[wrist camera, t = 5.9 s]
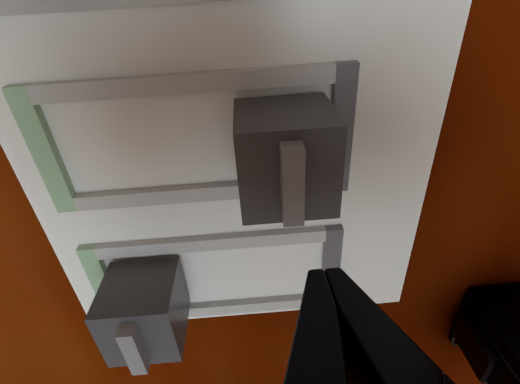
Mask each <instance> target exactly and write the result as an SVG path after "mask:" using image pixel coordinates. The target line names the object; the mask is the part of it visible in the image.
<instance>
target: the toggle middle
mask: <svg viewBox="0 0 520 384" xmlns="http://www.w3.org/2000/svg"><path fill="white" fill-rule="evenodd" d="M347 132H348V125H347V124H346V122H345V121H344V120H343V118H342V117H341V115H340V114H339V113H338V111H337V110H336V108H335V107H334V106H333V104H332V103H331V101H330V100H329V99H328V97H327V96H326V94H325V93H324V92H317V93H303V94H289V95H275V96H262V97H248V98H234V109H233V142H234V151H235V160H236V170H237V179H238V189H239V198H240V208H241V217H242V226H246V225H259V224H272V223H283V227H293V226H304V221H310V220H323V219H336V218H340V213H341V201H342V190H343V178H344V167H345V155H346V144H347Z"/></svg>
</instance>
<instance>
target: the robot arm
mask: <svg viewBox="0 0 520 384" xmlns="http://www.w3.org/2000/svg"><path fill="white" fill-rule="evenodd" d="M448 339H449V341H450V343H451V344H452V345H459V347H460V349H461V350H462V352H463V354H464V356H465V357H466V359H467V361H468V362H469V364H470V366H471V367H472V369H473V371H474V372H475V374H476V376H477V378H478V379H479V381H481V382H482V383H483V384H520V284H508V285H496V286H484V287H474V288H471V289H469V290H468V291H467V292H466V294H465V297H464V299H463V302H462V305H461V307H460V310H459V312H458V315H457V317H456V320H455V323H454V325H453V328H452V330H451V333H450V335H449V338H448ZM442 374H443V371H442V370H441V369H440V368H439V367H438V366H437V365H436V364H435V363H434V362H433V361H432V360H431V359H430V358H429V357H428V356H427V355H426V354H425V353H424V352H423V351H422V350H421V349H420V348H419V347H418V346H417V345H416V344H415V343H414V341H413V340H412V339H411V338H410V337H409V336H408V335H407V334H406V333H405V332H404V331H403V330H402V329H401V328H400V327H399V326H398V325H397V324H396V323H395V322H394V321H393V320H392V319H391V318H390V317H389V316H388V315H387V314H386V313H385V312H384V311H383V310H382V309H381V308H380V307H379V306H378V305H377V304H376V303H375V302H374V301H373V300H372V299H371V298H370V297H369V296H368V295H367V294H366V293H365V292H364V291H363V290H362V289H361V288H360V287H359V286H358V285H357V284H356V283H355V282H354V281H353V280H352V279H351V278H350V277H349V276H348V275H347V274H346V273H345V272H344V271H343V270H342V269H341V268H339V267H336V268H326V269H325V270H323V269H312V270H309V271H308V273H307V278H306V282H305V287H304V292H303V296H302V301H301V306H300V310H299V315H298V319H297V324H296V329H295V333H294V338H293V343H292V347H291V352H290V357H289V361H288V366H287V370H286V375H285V380H284V384H455V383H454V382H453V381H452V380H451V379H450V378H449V377H448V376H447V375H446V374H443V375H442Z"/></svg>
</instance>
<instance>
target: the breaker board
mask: <svg viewBox="0 0 520 384" xmlns="http://www.w3.org/2000/svg"><path fill="white" fill-rule="evenodd" d="M471 2H472V0H0V144H1V146H2V148H3V150H4V152H5V154H6V156H7V158H8V160H9V162H10V164H11V166H12V168H13V170H14V172H15V174H16V176H17V178H18V180H19V182H20V184H21V186H22V188H23V190H24V192H25V194H26V196H27V198H28V200H29V202H30V204H31V206H32V208H33V210H34V212H35V214H36V216H37V217H38V219H39V221H40V223H41V225H42V227H43V229H44V231H45V233H46V235H47V237H48V239H49V241H50V243H51V245H52V247H53V249H54V251H55V253H56V255H57V257H58V259H59V261H60V263H61V265H62V267H63V269H64V271H65V273H66V275H67V277H68V279H69V281H70V283H71V285H72V287H73V289H74V291H75V293H76V295H77V297H78V299H79V301H80V303H81V305H82V307H83V309H84V311H85V313H86V315H87V313H88V311H89V308H90V306H91V304H92V302H93V299H94V297H95V295H96V293H97V290H98V288H99V286H100V283H101V281H102V279H103V277H104V274H105V272H106V270H107V268H108V265H109V263H110V262H114V261H127V260H139V259H152V258H165V257H177V256H179V258H180V262H181V266H182V270H183V274H184V278H185V282H186V286H187V290H188V294H189V298H190V309H189V316H188V319H194V318H206V317H218V316H230V315H242V314H255V313H267V312H279V311H291V310H300V306H301V301H302V296H303V292H304V287H305V282H306V278H307V273H308V271H309V270H312V269H323V270H325V269H326V268H336V267H339V268H341V269H342V270H343V271H344V272H345V273H346V274H347V275H348V276H349V277H350V278H351V279H352V280H353V281H354V282H355V283H356V284H357V285H358V286H359V287H360V288H361V289H362V290H363V291H364V292H365V293H366V294H367V295H368V296H369V297H370V298H371V299H372V300H373V301H374V302H375V303H388V302H399V300H400V296H401V292H402V288H403V284H404V279H405V275H406V271H407V267H408V263H409V259H410V255H411V250H412V246H413V242H414V238H415V234H416V230H417V226H418V221H419V217H420V213H421V209H422V205H423V201H424V197H425V193H426V188H427V184H428V180H429V176H430V172H431V168H432V164H433V159H434V155H435V151H436V147H437V143H438V139H439V135H440V130H441V126H442V122H443V118H444V114H445V110H446V106H447V101H448V97H449V93H450V89H451V85H452V81H453V77H454V73H455V68H456V64H457V60H458V56H459V52H460V48H461V44H462V39H463V35H464V31H465V27H466V23H467V19H468V15H469V10H470V6H471ZM317 92H324V93H325V94H326V96H327V97H328V99H329V100H330V101H331V103H332V104H333V106H334V107H335V108H336V110H337V111H338V113H339V114H340V115H341V117H342V118H343V120H344V121H345V122H346V124H347V125H348V132H347V144H346V155H345V167H344V178H343V190H342V201H341V213H340V218H336V219H323V220H310V221H304V226H293V227H283V223H272V224H259V225H246V226H242V217H241V208H240V198H239V189H238V179H237V170H236V160H235V151H234V142H233V109H234V98H248V97H262V96H275V95H289V94H303V93H317Z"/></svg>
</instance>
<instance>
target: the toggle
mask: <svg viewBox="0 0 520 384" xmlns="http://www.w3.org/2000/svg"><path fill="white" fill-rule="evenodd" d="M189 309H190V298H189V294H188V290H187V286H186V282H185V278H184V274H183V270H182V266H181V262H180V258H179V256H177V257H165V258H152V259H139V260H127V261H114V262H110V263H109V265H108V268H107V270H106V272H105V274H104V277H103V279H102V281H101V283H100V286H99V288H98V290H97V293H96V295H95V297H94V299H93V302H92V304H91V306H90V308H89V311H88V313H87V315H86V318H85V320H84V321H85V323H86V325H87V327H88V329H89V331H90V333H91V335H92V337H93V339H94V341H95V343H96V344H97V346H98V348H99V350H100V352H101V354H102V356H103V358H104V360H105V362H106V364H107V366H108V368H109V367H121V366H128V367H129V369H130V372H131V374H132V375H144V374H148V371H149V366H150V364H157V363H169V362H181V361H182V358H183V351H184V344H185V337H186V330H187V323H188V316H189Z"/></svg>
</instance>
